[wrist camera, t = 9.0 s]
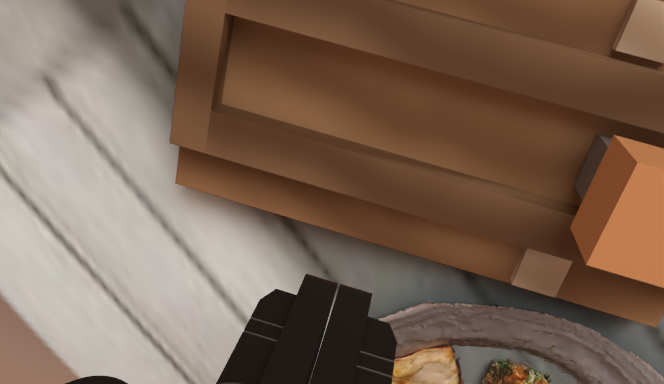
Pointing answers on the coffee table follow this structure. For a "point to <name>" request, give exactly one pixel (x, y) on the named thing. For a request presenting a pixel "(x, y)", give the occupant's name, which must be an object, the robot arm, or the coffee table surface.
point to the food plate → (506, 346)
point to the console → (425, 124)
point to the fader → (622, 209)
